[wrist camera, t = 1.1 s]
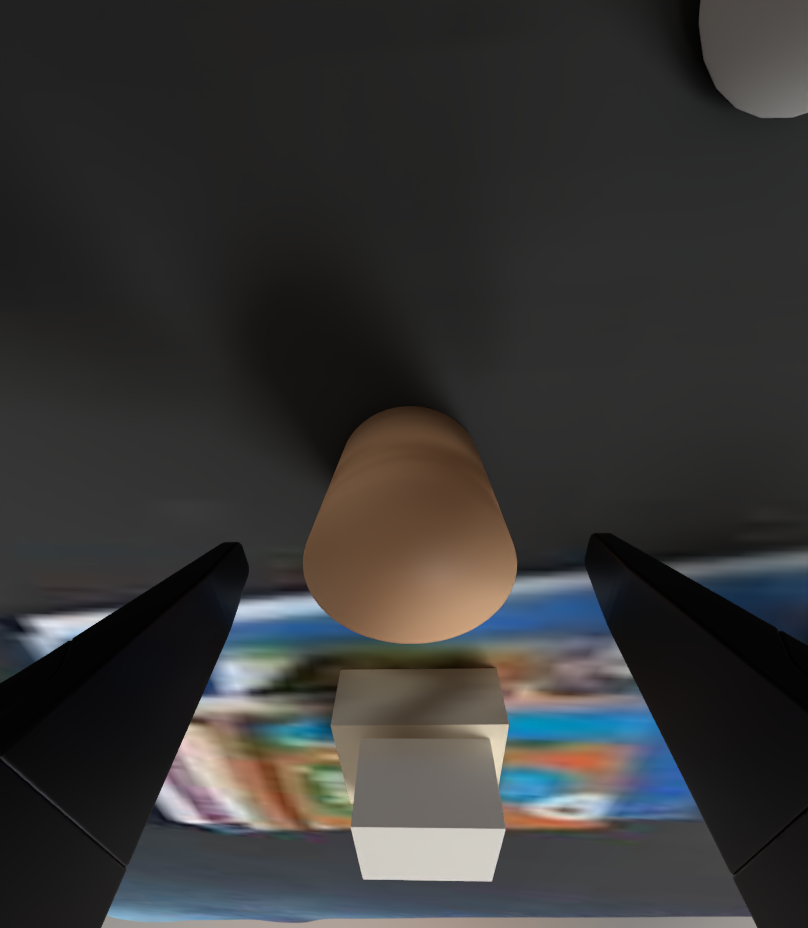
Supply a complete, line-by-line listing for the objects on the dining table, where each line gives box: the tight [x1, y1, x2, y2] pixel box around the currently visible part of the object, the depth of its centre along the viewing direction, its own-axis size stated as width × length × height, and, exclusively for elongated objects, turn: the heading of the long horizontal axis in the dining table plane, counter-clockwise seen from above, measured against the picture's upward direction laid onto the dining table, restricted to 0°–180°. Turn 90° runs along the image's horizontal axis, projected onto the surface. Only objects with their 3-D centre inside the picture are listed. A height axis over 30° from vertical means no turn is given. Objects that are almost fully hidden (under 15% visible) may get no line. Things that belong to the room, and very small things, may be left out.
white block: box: [351, 738, 506, 881], centre depth 16 cm, size 6×6×3 cm
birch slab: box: [331, 668, 509, 803], centre depth 19 cm, size 8×8×3 cm
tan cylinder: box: [303, 406, 517, 644], centre depth 10 cm, size 5×5×5 cm
